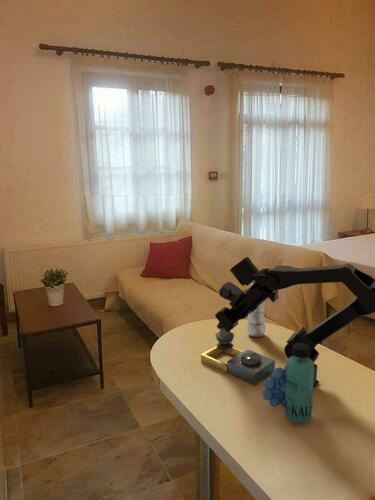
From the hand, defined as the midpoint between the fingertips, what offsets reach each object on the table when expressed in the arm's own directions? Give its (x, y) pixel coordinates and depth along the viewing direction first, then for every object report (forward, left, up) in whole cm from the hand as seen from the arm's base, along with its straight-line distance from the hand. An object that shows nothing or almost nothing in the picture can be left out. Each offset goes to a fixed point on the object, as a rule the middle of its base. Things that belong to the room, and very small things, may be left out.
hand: (220, 325), depth 122 cm
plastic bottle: (+2, -22, -12) cm, 25 cm away
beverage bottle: (-33, +9, -12) cm, 36 cm away
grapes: (-27, +6, -12) cm, 30 cm away
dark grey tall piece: (-1, 0, -7) cm, 7 cm away
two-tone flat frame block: (-6, 0, -12) cm, 13 cm away
